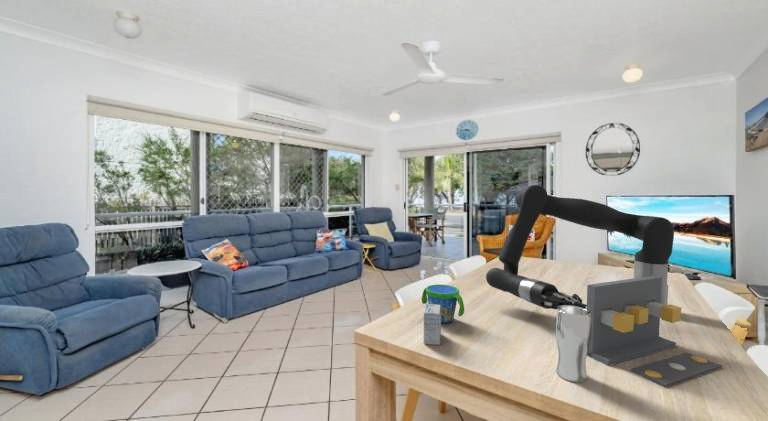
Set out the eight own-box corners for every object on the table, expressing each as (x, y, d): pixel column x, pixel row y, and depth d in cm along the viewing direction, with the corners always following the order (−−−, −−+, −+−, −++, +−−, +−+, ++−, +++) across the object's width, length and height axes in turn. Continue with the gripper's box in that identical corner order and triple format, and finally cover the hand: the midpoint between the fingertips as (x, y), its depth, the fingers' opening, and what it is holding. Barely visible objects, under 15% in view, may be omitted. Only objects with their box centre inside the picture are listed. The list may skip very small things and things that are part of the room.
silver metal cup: (547, 367, 78) (549, 305, 78) (575, 366, 79) (578, 304, 78) (566, 384, 71) (569, 316, 71) (597, 383, 72) (599, 315, 71)
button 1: (595, 317, 89) (595, 302, 89) (633, 331, 80) (634, 314, 80) (584, 319, 88) (585, 304, 87) (622, 333, 79) (623, 317, 78)
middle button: (610, 310, 94) (610, 296, 94) (648, 323, 85) (649, 307, 85) (600, 312, 93) (601, 298, 93) (638, 325, 84) (639, 309, 84)
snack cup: (471, 324, 104) (472, 291, 104) (448, 331, 98) (448, 297, 98) (436, 309, 117) (436, 280, 116) (413, 315, 111) (414, 285, 110)
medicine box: (439, 346, 89) (440, 314, 89) (423, 344, 90) (423, 312, 90) (440, 333, 97) (441, 304, 96) (425, 332, 98) (425, 303, 97)
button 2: (640, 309, 95) (640, 295, 95) (680, 321, 86) (681, 306, 86) (631, 311, 94) (631, 297, 94) (671, 323, 85) (672, 308, 85)
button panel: (635, 332, 99) (638, 272, 98) (675, 346, 90) (679, 280, 89) (570, 347, 89) (573, 280, 88) (608, 365, 80) (611, 291, 79)
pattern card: (686, 354, 85) (686, 351, 85) (721, 367, 79) (722, 364, 79) (630, 371, 77) (630, 367, 77) (665, 387, 71) (665, 383, 71)
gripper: (521, 282, 102) (572, 299, 86) (553, 278, 107) (607, 294, 91) (520, 306, 102) (571, 328, 86) (552, 301, 107) (606, 321, 91)
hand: (590, 310), depth 88 cm, fingers closed
